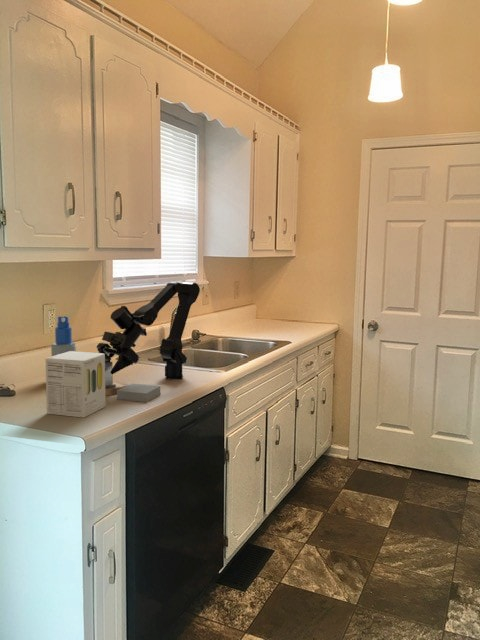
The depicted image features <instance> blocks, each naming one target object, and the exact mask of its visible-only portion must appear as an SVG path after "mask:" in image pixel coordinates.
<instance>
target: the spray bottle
mask: <svg viewBox="0 0 480 640" xmlns="http://www.w3.org/2000/svg"><path fill="white" fill-rule="evenodd" d="M54 333H55V334H54V336H55V341H54V342H53V343H51V346H50V347H51V350H50V351H51V357H52V356H55V355H58V354H62V353H65V352H69V351H77V345H76V342H74V341H72V339H73V337H72V334H73V333H72V327H71V326H70V322H69V316H68V315H65V316H60V315H58V316H57V323H56V327H54Z"/></svg>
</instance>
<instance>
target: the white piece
mask: <svg viewBox="0 0 480 640" xmlns="http://www.w3.org/2000/svg"><path fill="white" fill-rule="evenodd" d="M113 367H114V365H113V361H111V360H108V359H105V386H106V385H111V384H113V382H114V379H113V377H114V376H113V375H114V374H111V373H110V372H111V370H112V368H113Z"/></svg>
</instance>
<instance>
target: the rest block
mask: <svg viewBox="0 0 480 640" xmlns="http://www.w3.org/2000/svg"><path fill="white" fill-rule="evenodd" d="M160 395H161V385H157V384H143V383H133V382H132V383H130V384H128V386H125V387H123V388H121V389H119V390H117V393H116V400H121V401H132V402H142V403H147V402H149V401H151V400H153V399H155V398H156V397H158V396H160Z"/></svg>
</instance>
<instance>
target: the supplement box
mask: <svg viewBox="0 0 480 640" xmlns="http://www.w3.org/2000/svg"><path fill="white" fill-rule="evenodd" d="M45 388H46V391H45V392H46V395H45V397H46V414H49V415H58V416H64V417H65V416H66V417H67V416H68V417H76V418H84V419H85V417H88V416H90V415H92V414H93V413H95V412H97V411H100V410H101V409H103V408H105V407H106V396H105V354H104V353H99V352H88V351H87V352H86V351H77V350H76V351H69V352H65V353H62V354H58V355H55V356H52V355H51V356H49V357H46V358H45Z"/></svg>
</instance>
